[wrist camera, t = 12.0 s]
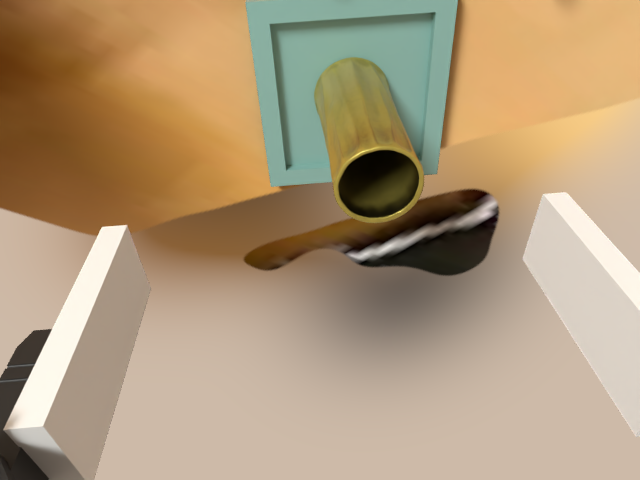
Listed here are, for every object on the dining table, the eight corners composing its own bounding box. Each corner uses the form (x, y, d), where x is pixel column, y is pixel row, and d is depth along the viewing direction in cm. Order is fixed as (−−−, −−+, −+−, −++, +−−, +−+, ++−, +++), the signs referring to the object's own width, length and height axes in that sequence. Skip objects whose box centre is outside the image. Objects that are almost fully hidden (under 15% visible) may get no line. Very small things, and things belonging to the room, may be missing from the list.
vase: (298, 86, 37) (304, 177, 26) (364, 39, 35) (402, 116, 24) (340, 142, 40) (361, 245, 29) (402, 103, 38) (450, 196, 27)
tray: (271, 178, 43) (270, 186, 41) (246, -2, 33) (245, 2, 32) (432, 165, 43) (437, 174, 42) (453, -17, 33) (459, -13, 32)
